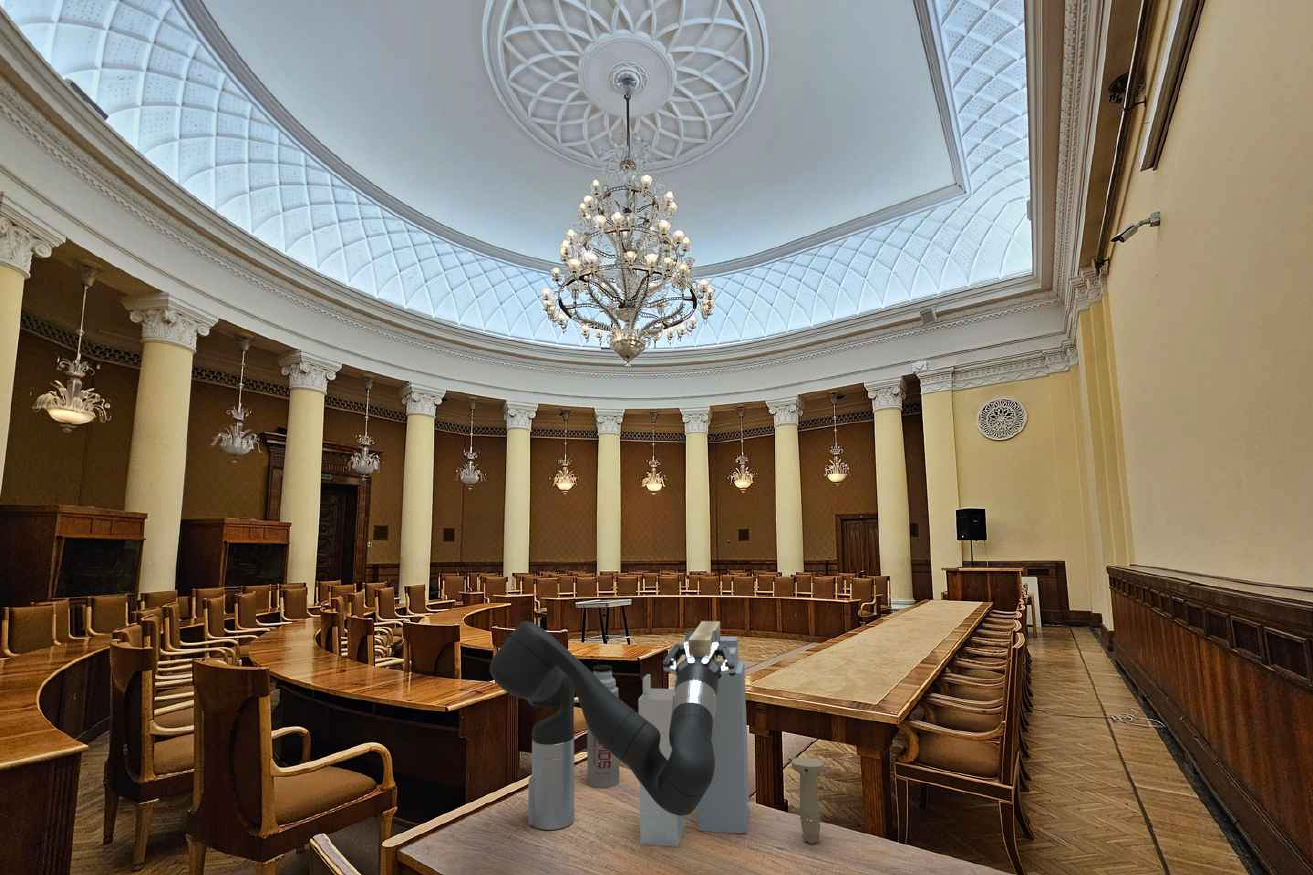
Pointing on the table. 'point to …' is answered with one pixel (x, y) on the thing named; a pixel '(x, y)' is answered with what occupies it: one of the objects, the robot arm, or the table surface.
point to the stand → (728, 755)
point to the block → (703, 638)
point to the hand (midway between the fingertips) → (703, 634)
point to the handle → (809, 796)
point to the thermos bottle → (608, 766)
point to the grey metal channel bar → (658, 711)
